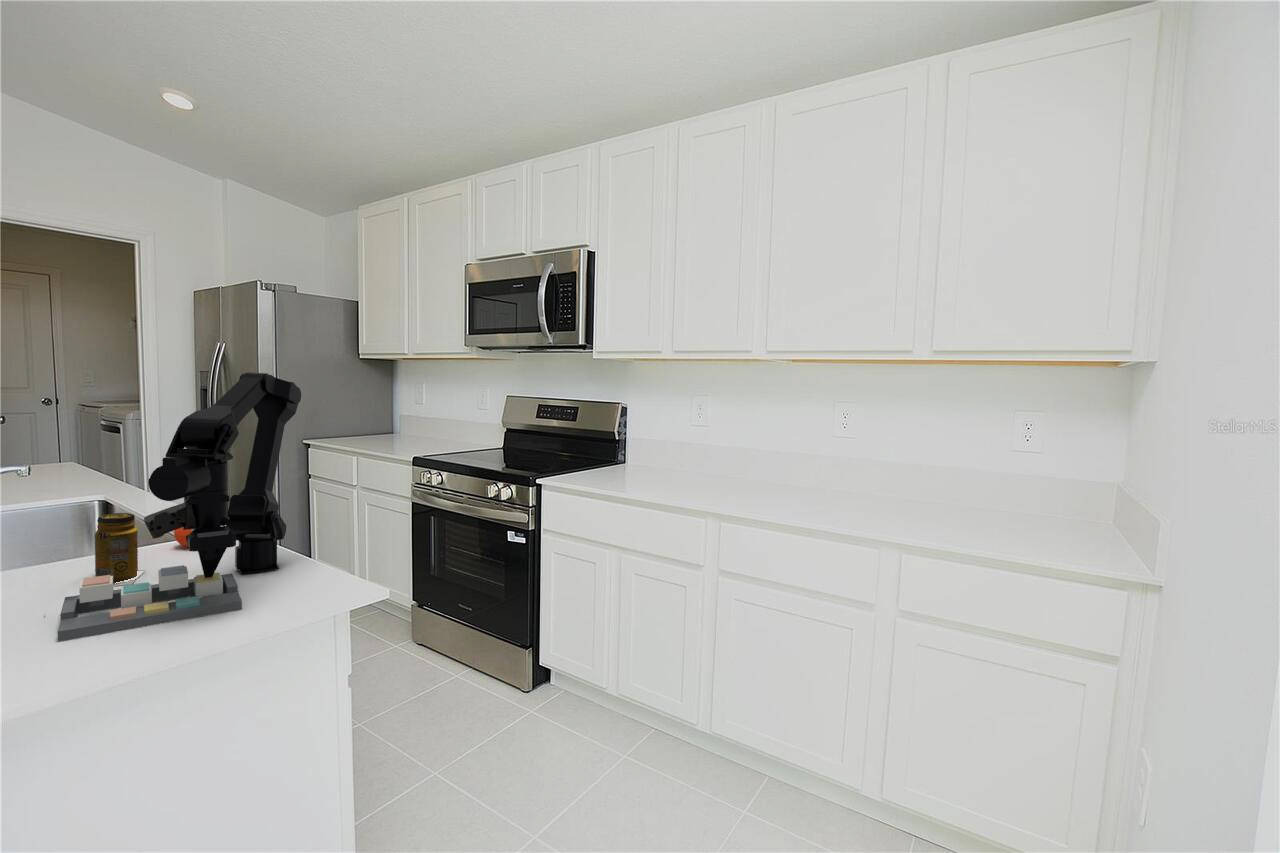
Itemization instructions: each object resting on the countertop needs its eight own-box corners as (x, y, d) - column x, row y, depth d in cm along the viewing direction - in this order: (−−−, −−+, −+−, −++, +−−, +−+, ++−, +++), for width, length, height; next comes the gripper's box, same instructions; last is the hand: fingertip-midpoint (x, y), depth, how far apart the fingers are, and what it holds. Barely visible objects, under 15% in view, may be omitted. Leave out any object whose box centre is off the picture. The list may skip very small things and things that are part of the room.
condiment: (145, 570, 117) (145, 510, 116) (131, 585, 109) (130, 520, 109) (97, 574, 114) (96, 512, 113) (79, 589, 106) (78, 523, 105)
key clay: (113, 597, 98) (112, 573, 98) (112, 606, 95) (112, 581, 94) (81, 602, 96) (81, 578, 95) (79, 611, 92) (79, 586, 92)
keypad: (232, 586, 111) (232, 573, 111) (241, 609, 101) (241, 594, 101) (65, 612, 97) (65, 597, 96) (57, 641, 87) (57, 624, 87)
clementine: (173, 543, 135) (173, 512, 134) (211, 539, 139) (211, 509, 138) (174, 552, 128) (173, 520, 128) (213, 548, 133) (213, 516, 132)
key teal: (151, 604, 101) (150, 581, 101) (151, 612, 98) (151, 588, 98) (121, 608, 99) (121, 585, 99) (121, 617, 96) (120, 593, 95)
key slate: (186, 586, 104) (186, 564, 104) (188, 594, 101) (188, 571, 101) (158, 590, 102) (158, 568, 102) (159, 599, 99) (159, 575, 98)
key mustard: (220, 593, 108) (220, 571, 107) (222, 600, 104) (222, 578, 104) (193, 597, 105) (193, 575, 105) (195, 605, 102) (195, 582, 101)
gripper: (146, 483, 105) (147, 570, 106) (148, 504, 91) (150, 603, 92) (223, 479, 112) (223, 560, 114) (236, 497, 98) (236, 589, 99)
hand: (208, 576), depth 104 cm, fingers closed, pressing on key mustard
